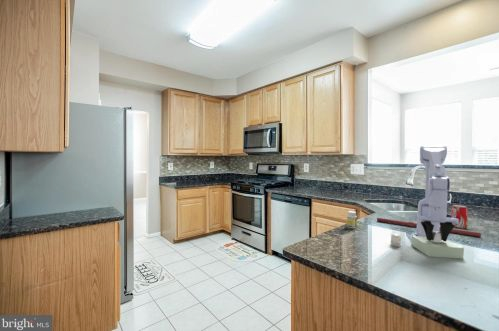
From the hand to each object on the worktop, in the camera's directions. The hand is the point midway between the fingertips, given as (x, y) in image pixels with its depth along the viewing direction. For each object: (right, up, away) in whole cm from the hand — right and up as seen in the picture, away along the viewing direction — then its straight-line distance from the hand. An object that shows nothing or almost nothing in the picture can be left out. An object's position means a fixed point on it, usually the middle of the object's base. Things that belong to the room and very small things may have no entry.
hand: (436, 240), depth 97 cm
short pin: (-12, -4, +7) cm, 15 cm away
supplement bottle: (-20, -3, +33) cm, 39 cm away
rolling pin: (+19, -5, +33) cm, 39 cm away
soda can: (+42, -5, +37) cm, 56 cm away
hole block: (0, -5, 0) cm, 5 cm away
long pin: (0, -5, 0) cm, 5 cm away
